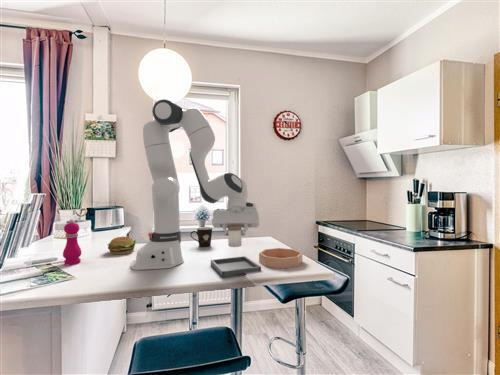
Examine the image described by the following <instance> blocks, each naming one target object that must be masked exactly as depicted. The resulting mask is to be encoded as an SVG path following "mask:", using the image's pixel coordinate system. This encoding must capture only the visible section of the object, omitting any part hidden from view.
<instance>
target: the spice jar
mask: <svg viewBox="0 0 500 375" xmlns="http://www.w3.org/2000/svg"><path fill="white" fill-rule="evenodd" d="M227 230H228V236H227V238H228V239H227V242H228V244H227V245H228V247H230V248H239V247H240V248H241V247H242V246H243V244H242V243H243V241H242V238H243V237H242V236H243V235H241V230H243V229H242V226H239V225H232V226H228V228H227Z"/></svg>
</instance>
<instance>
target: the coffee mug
mask: <svg viewBox="0 0 500 375" xmlns="http://www.w3.org/2000/svg"><path fill="white" fill-rule="evenodd" d="M193 233H195V234H196V235H197V239H196V238H194V237H193V236H192V234H193ZM212 234H213V227H210V226H202V227H201V226H200V227H198V228H196V231H195V230H193V231H191V232H190V234H189V235H190V237H191V238H192V239H193V240H194V241H196V242H198V245H199V248H210V247H211V244H212V243H211V242H212V236H213V235H212Z"/></svg>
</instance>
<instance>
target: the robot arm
mask: <svg viewBox="0 0 500 375" xmlns="http://www.w3.org/2000/svg"><path fill="white" fill-rule="evenodd" d="M153 104H154V103H153ZM152 116H153V118H154V120H150V121H147V122H146V123H145V124H144V125H143V127H142V136H143V137H142V138H143V146H144V147H143V148H144V151H145V155H146V161H147V165H148V168H149V170H150V171H149V172H150V175H151V177H152V181H153V182H152V186H151V199H152V209H153V220H154V221H153V232H152V231H150V232H148V233H147V236H148V237H149V238H148V239H149V241H148V242H146V243H145V244H144V245H143V246H142V247H140V248H138V249H139V250H138V251H137V253H136V255H135V256H136V257H135V260H133V261H131V263H130V268H131V269H132V270H134V271H144V270H161V269H172V268H174V267H176V266H178V265H181V264H183V263H184V257H183V254H182V248H181V243H182V242H181V241H182V233H181V230H180V229H181V228H180V226H181V225H180V224H181V223H180V198H179V193H180V189H181V188H180V182H179V178H178V173H177V169H176V166H175V160H174V157H173V152H172V147H171V141H170V138H169V135H170V134H169V133H173V132H175V131H176V130H178V129H180V128H182V129H183V130H184V132H185V135H186V136H187V138H188V140H189V143H190V152H189V158H190V161H191V165H192V167H193V171H194V174H195V177H196V180H197V182H198V186H199V191H200V195H201V198H202V200H204V201H206V202H208V203H210V204H215V203H217V202H218V201H220V200H221V199H223V198H226V197H227V198H228V200H227V205H226V208H216V209H214V210H213V212H212V220H211V225H212V228H214V229H216V228H217V229H219V228H220V229H221V228H222V230H223V231H224V236H227V237H228V226H232V225H239V226H242V228H243V229H241V236H246V233H247V231H248V230H249V229H250V228H258V227H259V226H260V217H259V212H258V210H257V205H256V204H255V203H253V202H250V201H247V200H248V185H247V182H246V181H245V180H244V179H242V178H240V177H238V176H237V175H236V174H235V173H232V172H230V171H226V172H223V173H222V174H220V175H219V176H216V177H215V178H212V179H210V176H209V174H208V171H207V168H206V158H207V156H208V155H209V153H210V151H211V150H212V149H213V148H214V145H215V141H216V136H215V133H214V131H213V129H212V126H211V125H210V123H209V121H208V120H207V118H206V116H205V115H204V114H203V112H202V111H201V110H200V109H199V107H189V108H187V109H183V108H182V107H181V106H180V105H179V104H177V103H176V102H174V101H172V100H169V99H159V100H157V101H156V102H155V104H154V105H153V106H152Z"/></svg>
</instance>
